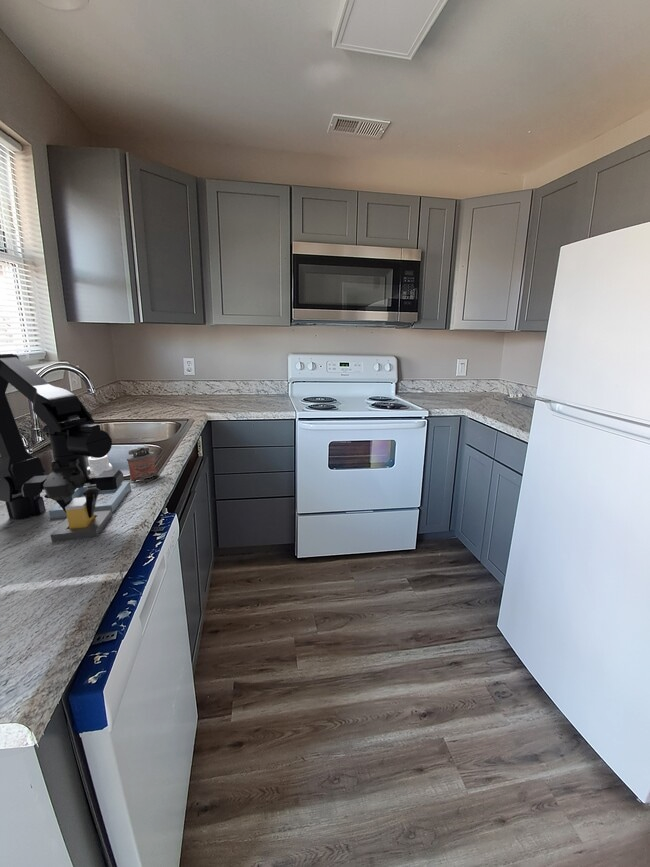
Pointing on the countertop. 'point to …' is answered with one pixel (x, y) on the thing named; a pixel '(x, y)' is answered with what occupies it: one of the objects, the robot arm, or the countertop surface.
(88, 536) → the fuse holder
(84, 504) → the yellow and white block
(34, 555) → the countertop surface
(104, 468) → the pipe fitting
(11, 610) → the countertop surface
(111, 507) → the parts tray
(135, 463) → the lighter
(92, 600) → the countertop surface
